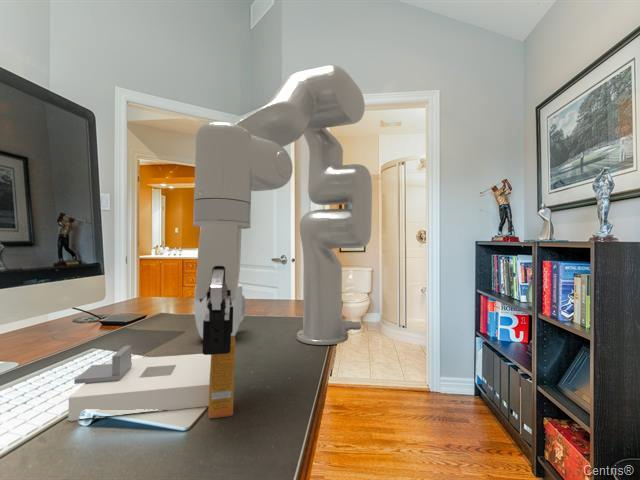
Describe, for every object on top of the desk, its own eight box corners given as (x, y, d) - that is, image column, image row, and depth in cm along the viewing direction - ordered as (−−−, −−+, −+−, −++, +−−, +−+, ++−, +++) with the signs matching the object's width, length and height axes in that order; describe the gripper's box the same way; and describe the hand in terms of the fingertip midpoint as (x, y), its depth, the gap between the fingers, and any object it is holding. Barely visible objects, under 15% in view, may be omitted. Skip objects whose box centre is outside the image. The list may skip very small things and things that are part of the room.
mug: (228, 328, 88) (228, 280, 89) (261, 333, 83) (261, 282, 84) (183, 343, 75) (184, 286, 75) (219, 349, 70) (219, 289, 70)
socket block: (221, 368, 59) (221, 352, 59) (215, 405, 46) (215, 384, 46) (111, 377, 55) (111, 360, 55) (68, 421, 41) (68, 397, 41)
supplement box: (235, 415, 43) (236, 340, 43) (208, 420, 42) (209, 342, 42) (234, 404, 46) (234, 333, 46) (208, 407, 45) (209, 335, 45)
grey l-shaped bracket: (131, 366, 52) (132, 344, 52) (119, 380, 47) (119, 356, 47) (92, 369, 51) (92, 347, 51) (74, 383, 45) (74, 359, 45)
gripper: (201, 221, 52) (198, 329, 51) (182, 206, 35) (177, 366, 34) (249, 223, 54) (246, 327, 53) (252, 209, 37) (249, 361, 36)
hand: (219, 342), depth 44 cm, fingers open, 9 cm apart
